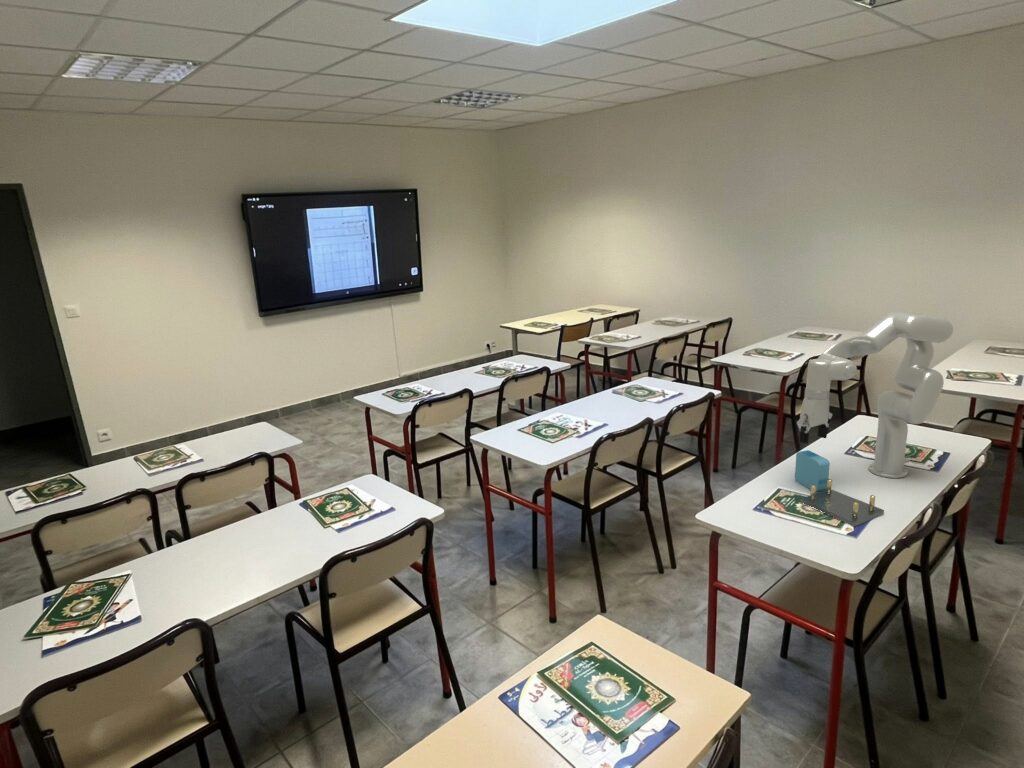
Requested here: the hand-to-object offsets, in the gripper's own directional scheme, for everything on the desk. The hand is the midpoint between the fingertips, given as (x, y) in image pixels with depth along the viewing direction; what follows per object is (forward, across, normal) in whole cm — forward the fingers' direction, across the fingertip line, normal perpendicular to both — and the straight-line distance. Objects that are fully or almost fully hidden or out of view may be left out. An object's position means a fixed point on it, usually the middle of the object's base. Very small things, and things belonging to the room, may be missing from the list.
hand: (812, 439), depth 219 cm
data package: (+18, -1, 0) cm, 18 cm away
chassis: (+18, +6, +17) cm, 26 cm away
